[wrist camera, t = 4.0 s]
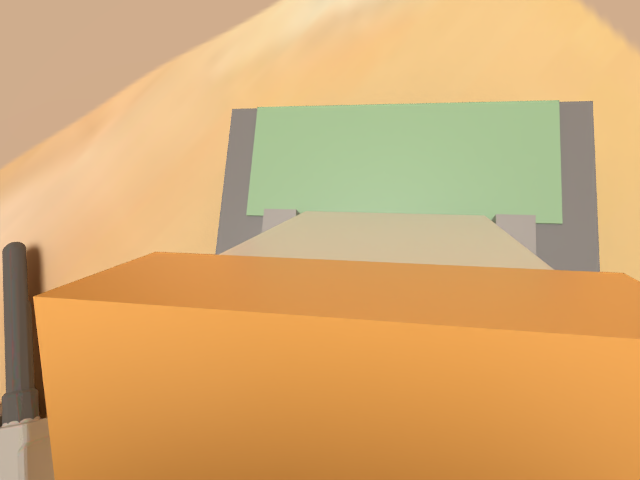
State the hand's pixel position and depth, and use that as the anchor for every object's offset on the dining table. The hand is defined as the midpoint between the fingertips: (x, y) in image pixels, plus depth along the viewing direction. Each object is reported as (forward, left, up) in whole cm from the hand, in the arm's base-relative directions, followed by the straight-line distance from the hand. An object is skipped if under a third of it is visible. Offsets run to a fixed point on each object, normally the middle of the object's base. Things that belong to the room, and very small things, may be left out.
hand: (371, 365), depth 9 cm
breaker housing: (+3, 0, -9) cm, 10 cm away
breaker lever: (+3, 0, -4) cm, 5 cm away
